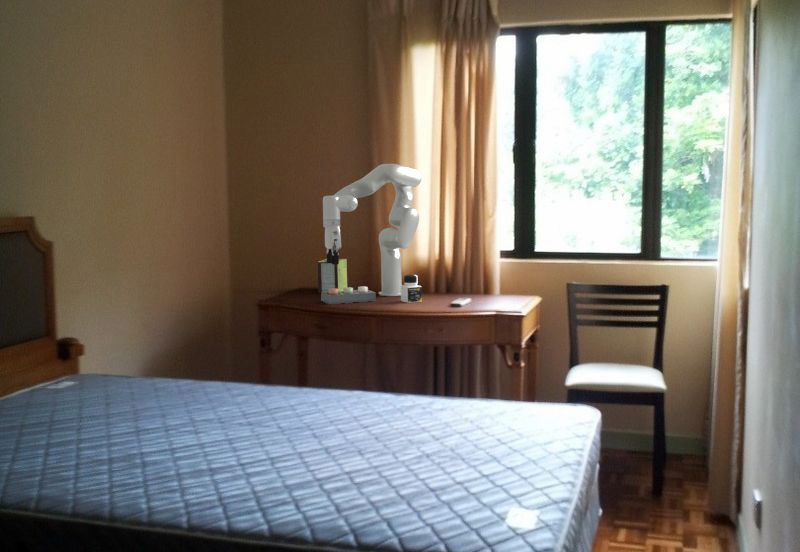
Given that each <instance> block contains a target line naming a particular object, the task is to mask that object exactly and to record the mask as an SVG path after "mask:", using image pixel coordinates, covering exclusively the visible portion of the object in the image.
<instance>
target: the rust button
mask: <svg viewBox="0 0 800 552" xmlns="http://www.w3.org/2000/svg"><path fill="white" fill-rule="evenodd" d="M329 294H338V289H337V288H332V289H329Z"/></svg>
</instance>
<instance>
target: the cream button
mask: <svg viewBox="0 0 800 552" xmlns="http://www.w3.org/2000/svg"><path fill="white" fill-rule="evenodd" d="M368 287H369V286H364V285H363V286H357V290H358V292H368V290H369V288H368Z"/></svg>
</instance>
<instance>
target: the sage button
mask: <svg viewBox="0 0 800 552" xmlns="http://www.w3.org/2000/svg"><path fill="white" fill-rule="evenodd" d="M353 290H354V287H351V286H349V287H348V286H347V288H343V293H353Z"/></svg>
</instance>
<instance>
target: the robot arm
mask: <svg viewBox="0 0 800 552" xmlns="http://www.w3.org/2000/svg"><path fill="white" fill-rule="evenodd" d="M421 181H422V175H421V172H420V171H418V170H417V169H416V168H412V167H408V166H406V165H402V164H397V163H382V164H379V165H378V166H377V167H375V168H374V169H372V170H371V171H370V172H368V173H367V174H366V175H364V177H362V178H360V179H358V180H356V181H354V182H353V183H350V184H349V185H347V186H344V187H343V188H341V189H340V190H338V191H337V192H335V194H333V195H325V196H323V198H322V214H323V215H322V221H323V223H322V224H323V228H324V247H325V248H326V253H325V254H326V259H327V263H332V264H339V259H340V257H339V254H340V252H339V250H340V249H341V248H342V238H341V237H342V236H341V229H340V227H341V212H343V213H344V212H348V213H349V212H352V211H355V210H356V209H357V207H358V205H359V204H358V203H359V202H358V199H359V198H360V199H361V198H364V197H365V198H366V197H368V196H370V195H373V194H375V192H376V191H379V189H380V188H382V187H383V186H384V185H386V184H387V183H392V185H393V187H394V190H395V199H394V201H393V204H392V207H391V209H390V213H389V215H388V222H389V224H390V225H391V226H393V227H386V228H383V229H382V230H381V231H380V232H379V234H378V244H379V249H380V261H381V262H380V266H381V267H380V269H381V291H379V292H378V295H379V296H380V297H401V285H403V284H402V282H403V281H402V278H403V277H402V254H401V251H400V250H406V249H408V248H409V247H410V246H411V245H412V242H413V240H414V237H415V235H416V233H417V229H418V226H419V222H420V215H419V214H420V213H419V212H418V210H417V209H416V208H414V207H412V205H413V202H414V194H413V191H412V188H416V187H418V186H419V185H420V184H421ZM395 227H396V228H395Z"/></svg>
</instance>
